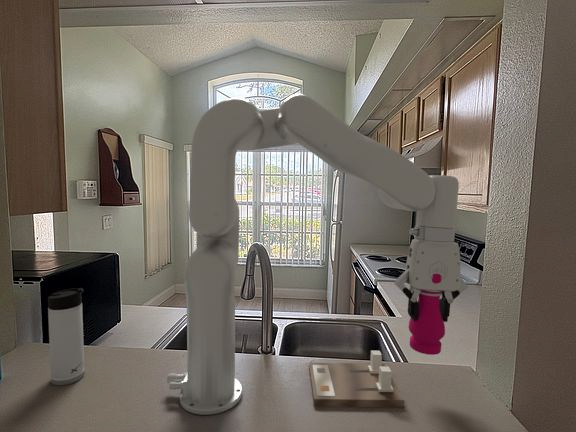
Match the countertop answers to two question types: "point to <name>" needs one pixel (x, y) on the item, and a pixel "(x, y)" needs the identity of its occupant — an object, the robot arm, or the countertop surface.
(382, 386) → the tab
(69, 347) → the travel mug
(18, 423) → the countertop surface
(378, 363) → the tab
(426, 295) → the pepper mill
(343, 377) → the switch board
